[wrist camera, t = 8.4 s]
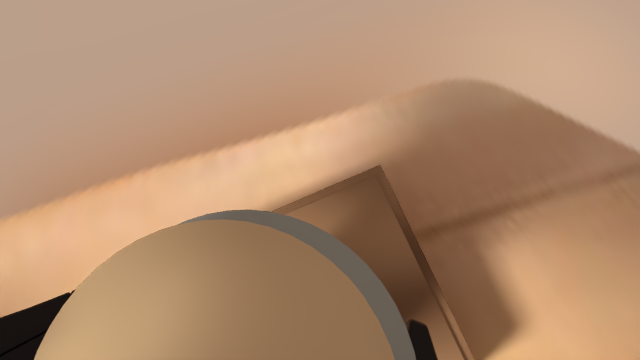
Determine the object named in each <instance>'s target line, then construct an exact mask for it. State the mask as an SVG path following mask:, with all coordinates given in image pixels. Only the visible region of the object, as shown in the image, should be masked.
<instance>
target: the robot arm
mask: <svg viewBox="0 0 640 360" xmlns="http://www.w3.org/2000/svg"><path fill="white" fill-rule="evenodd" d="M74 291H75V290H73V291H72V292H71V293H69V292H68V293H65V294H63V295H61V296H58V297H56V298H53V299H51V300H48V301H45V302H43V303H40V304H37V305H35V306H32V307H30V308H27V309H24V310H21V311H18V312H16V313H13V314H10V315H7V316H4V317H1V318H0V360H34V358H35V356H36V353H37V350H38V348H39V346H40V344H41V342H42V340H43V338H44V336H45V335H46V333H47V331H48V329H49V327H50V325H51V324H52V322H53V320H54V319H55V317H56V316H57V314H58V313H59V311H60V310H61V308H62V307H63V305H64V304H65V302H66V301H67V300H68V299H69V298H70V296H71V295H72V294H73V293H74ZM406 328H407V331H408V334H409V337H410V340H411V343H412V346H413V349H414V352H415V356H416V360H438V358H437V355H436V352H435V348H434V345H433V342H432V339H431V336H430V333H429V329H428V327H427V325H426V324H424V323H422V322H419V321H417V320H415V319H409V320H408V322H407V324H406Z"/></svg>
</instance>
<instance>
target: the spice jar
mask: <svg viewBox="0 0 640 360" xmlns="http://www.w3.org/2000/svg"><path fill="white" fill-rule="evenodd" d="M34 360H416V356H415V352H414V349H413V346H412V343H411V340H410V337H409V334H408V331H407V328H406V325H405V323H404V321H403V319H402V317H401V315H400V312H399V310H398V308H397V306H396V304H395V302H394V301H393V299H392V298H391V296H390V294H389V293H388V291H387V290H386V288H385V287H384V285H383V283H382V282H381V281H380V279H379V278H378V277H377V276H376V275H375V273H374V272H373V271H372V270H371V269H370V267H369V266H368V265H367V264H366V263H365V262H364V261H363V260H362V259H361V258H360V257H359V256H358V255H357V254H356V253H354V252H353V251H352V250H351V249H350V248H349V247H348V246H346V245H345V244H343V243H342V242H341V241H339V240H338V239H337V238H335V237H334V236H332V235H331V234H329V233H327V232H325V231H323V230H322V229H320V228H318V227H316V226H314V225H312V224H310V223H307V222H305V221H302V220H299V219H297V218H294V217H291V216H287V215H282V214H278V213H274V212H268V211H257V210H232V211H223V212H217V213H212V214H206V215H203V216H200V217H197V218H193V219H190V220H187V221H185V222H182V223H180V224H178V225H175V226H172V227H169V228H166V229H162V230H159V231H156V232H154V233H152V234H150V235H148V236H145V237H143V238H141V239H139V240H137V241H135V242H133V243H132V244H130V245H128V246H127V247H125V248H123V249H122V250H120V251H118V252H117V253H115V254H114V255H113V256H112V257H110V258H109V259H108V260H106V261H105V262H104V263H103V264H101V265H100V266H99V267H98V268H96V269H95V270H94V271H93V272H92V273H91V274H90V275H89V276H88V277H87V278H86V279H85V280H84V281H83V282H82V283H81V284H80V285H79V286H78V288H77V289H76V290H75V291H74V293H73V294H72V295H71V296H70V298H69V299H68V300H67V301H66V302H65V304H64V305H63V307H62V308H61V310H60V311H59V313H58V314H57V316H56V317H55V319H54V320H53V322H52V324H51V325H50V327H49V329H48V331H47V333H46V335H45V336H44V338H43V340H42V342H41V344H40V346H39V348H38V350H37V353H36V356H35V358H34Z"/></svg>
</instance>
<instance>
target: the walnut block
mask: <svg viewBox="0 0 640 360" xmlns="http://www.w3.org/2000/svg"><path fill="white" fill-rule="evenodd" d="M272 212H274V213H278V214H282V215H287V216H291V217H294V218H297V219H299V220H302V221H305V222H307V223H310V224H312V225H314V226H316V227H318V228H320V229H322V230H323V231H325V232H327V233H329V234H331V235H332V236H334V237H335V238H337V239H338V240H339V241H341V242H342V243H343V244H345V245H346V246H348V247H349V248H350V249H351V250H352V251H353V252H354V253H356V254H357V255H358V256H359V257H360V258H361V259H362V260H363V261H364V262H365V263H366V264H367V265H368V266H369V267H370V269H371V270H372V271H373V272H374V273H375V275H376V276H377V277H378V278H379V279H380V281H381V282H382V283H383V285H384V287H385V288H386V290H387V291H388V293H389V294H390V296H391V298H392V299H393V301H394V302H395V304H396V306H397V308H398V310H399V312H400V315H401V317H402V319H403V321H404V323H405V325H406V324H407V322H408V320H409V319H415V320H417V321H419V322H422V323H424V324H426V325H427V327H428V329H429V333H430V336H431V339H432V342H433V345H434V348H435V352H436V355H437V358H438V360H475V359H474V357H473V355H472V353H471V351H470V349H469V347H468V345H467V343H466V341H465V339H464V337H463V335H462V332H461V330H460V328H459V326H458V324H457V322H456V320H455V318H454V316H453V314H452V312H451V310H450V308H449V306H448V304H447V302H446V300H445V298H444V295H443V293H442V291H441V289H440V287H439V285H438V283H437V281H436V279H435V277H434V275H433V273H432V271H431V269H430V267H429V265H428V263H427V261H426V258H425V256H424V254H423V252H422V250H421V248H420V246H419V244H418V242H417V240H416V238H415V236H414V234H413V232H412V230H411V228H410V226H409V224H408V221H407V219H406V217H405V215H404V213H403V211H402V209H401V207H400V205H399V203H398V201H397V199H396V197H395V195H394V193H393V191H392V189H391V187H390V185H389V182H388V180H387V178H386V176H385V174H384V172H383V170H382V168H381V166H380V165H379V166H376V167H374V168H372V169H369V170H367V171H365V172H362V173H360V174H358V175H356V176H353V177H351V178H349V179H346V180H344V181H342V182H339V183H337V184H335V185H332V186H330V187H328V188H325V189H323V190H321V191H318V192H316V193H314V194H312V195H309V196H307V197H305V198H302V199H300V200H298V201H295V202H293V203H291V204H288V205H286V206H284V207H281V208H279V209H277V210H274V211H272Z"/></svg>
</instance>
